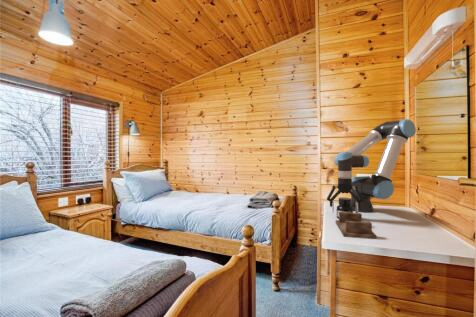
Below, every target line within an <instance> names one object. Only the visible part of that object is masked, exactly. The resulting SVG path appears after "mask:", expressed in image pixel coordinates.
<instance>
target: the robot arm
mask: <svg viewBox="0 0 476 317" xmlns="http://www.w3.org/2000/svg"><path fill="white" fill-rule="evenodd" d="M415 134H416V125H415V123H414V122H413V121H412V120H410V119H407V118H406V119H405V118H404V119H397V120H390V121H385V122H383V123H381V124H379V125H377V126H376V127H374V128H372V130H370V131H369V132H368V134H367V135H366V136H364V137H363V138H362V139H361V140H359V141H358V142H356V143H355V144H354V145H353V146H351V147H350V148H348V150H346V151H343V152H339V153H338V154H337V155H335V157H334V160H333V162H334V164H335V165H336V166H337V177H338V178H337V185H334V184H332V186H331V190H330V192H329V193H328V195H327V197H326V200H327V201H329V207H330V208H331V212H332V214H334V212H335V210H334V209H335V207H334V200H335V199H336V198H337V197H338V196H339V195H340V194H349V195H350V196H351V197H350V199H351V205H350V206H351V207H352V208H353V212H355V213H360V212H361V213H370V212H371V213H372V212H373V211H374V207H373V204H372V200H371V198H375V199H377V200H387V199H389V198H391V196H392V195H393V194H394V192H395V185H394V184H393V179H392V178H391V177H392V175H393V172H394V170H395V167H396V164H397V162H398V159H399V156H400V154H401V151H402V147H403V146H404V144H406V143H408V140H409V138H413V137H414V136H415ZM383 140H387V142H386V145H385V147H384V150H383V153H382V155H381V157H380V160H379V162H378V166H377V168H376V171H375V173H373V174H371V176H369V175H367V176H365V175H364V176H353V175H352V174H353V170H352V169H353V168H357V169H358V168H366V167H368V166H369V164H370V158H369V156H368V155H364V153H365V152H366V151H367V150H369V149H370V148H371V147H373V146H374V145H375V144H376V143H380V142H382V141H383ZM362 154H363V155H362ZM352 176H353V177H352ZM337 189H338V190H337ZM335 190H337V191H336V193H334V192H335Z"/></svg>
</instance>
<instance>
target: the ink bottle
mask: <svg viewBox="0 0 476 317" xmlns="http://www.w3.org/2000/svg"><path fill="white" fill-rule="evenodd" d="M350 205H351V197H345V196H344V197H343V196H342V197H338V205H337V206H336V218H337V219H339V212H346V213H354V211H353V208H352V207H351V206H350Z"/></svg>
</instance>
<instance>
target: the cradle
mask: <svg viewBox="0 0 476 317" xmlns="http://www.w3.org/2000/svg"><path fill="white" fill-rule="evenodd" d="M362 216H363V215H362V212H361V213H360V212H358V213H356V212H353V213H346V212H339V218H338V220H337V219H335V224H336V226H337V228H338V229H339V231H340V233H341V234H342V236H343V237H344V238H345V237H346V238H359V239H373V240H374V239H377V235H376V234H375V232H373V230H372V229H373V228H372V227H373V223H372V222H371V221H363V219H362V218H363V217H362Z"/></svg>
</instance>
